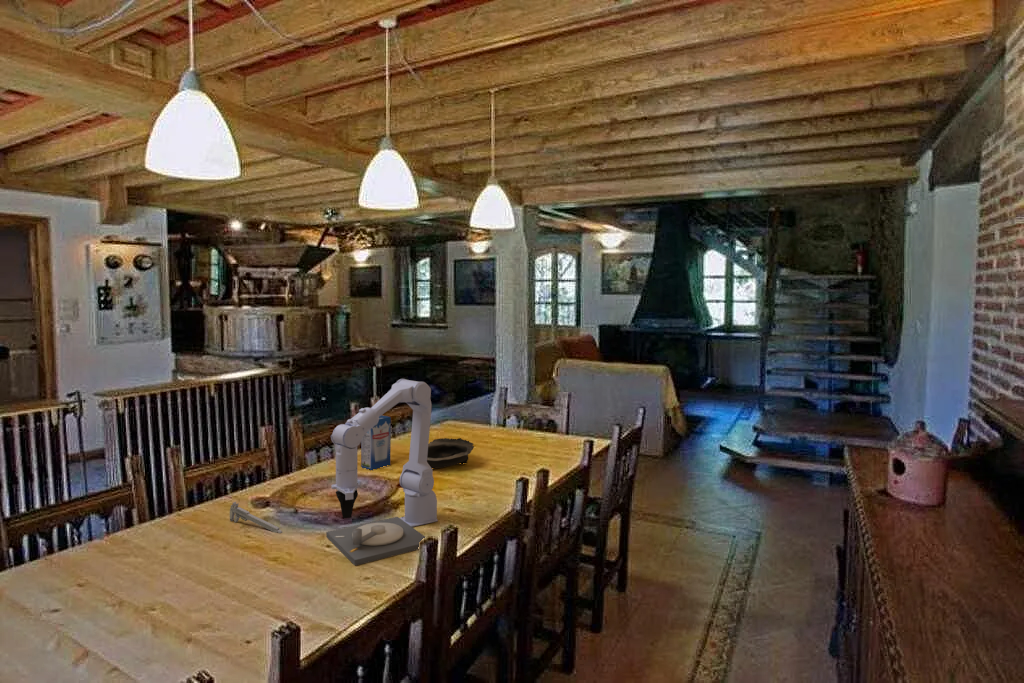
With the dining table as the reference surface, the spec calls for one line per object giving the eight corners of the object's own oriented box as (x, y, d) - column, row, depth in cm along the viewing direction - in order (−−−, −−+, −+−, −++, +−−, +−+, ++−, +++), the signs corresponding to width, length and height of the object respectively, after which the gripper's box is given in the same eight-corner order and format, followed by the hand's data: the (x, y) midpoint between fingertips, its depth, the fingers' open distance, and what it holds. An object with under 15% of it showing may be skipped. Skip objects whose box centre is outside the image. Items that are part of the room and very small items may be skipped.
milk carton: (371, 470, 237) (371, 420, 235) (361, 467, 241) (361, 418, 239) (390, 465, 245) (390, 416, 243) (380, 462, 249) (380, 414, 247)
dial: (373, 522, 178) (373, 507, 178) (412, 531, 173) (413, 515, 172) (333, 543, 163) (333, 527, 162) (375, 553, 157) (375, 536, 157)
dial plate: (397, 521, 185) (397, 515, 184) (431, 546, 167) (431, 540, 167) (326, 536, 172) (326, 531, 172) (354, 565, 154) (354, 559, 154)
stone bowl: (478, 457, 258) (478, 437, 257) (468, 479, 233) (468, 456, 232) (421, 454, 260) (421, 433, 259) (406, 475, 236) (406, 453, 234)
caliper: (229, 522, 182) (229, 502, 182) (232, 521, 183) (232, 501, 183) (279, 534, 174) (279, 513, 173) (282, 533, 175) (282, 511, 174)
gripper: (329, 462, 169) (329, 509, 170) (333, 477, 156) (333, 528, 157) (355, 460, 172) (355, 507, 173) (361, 475, 158) (361, 525, 159)
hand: (346, 517), depth 165 cm, fingers closed
